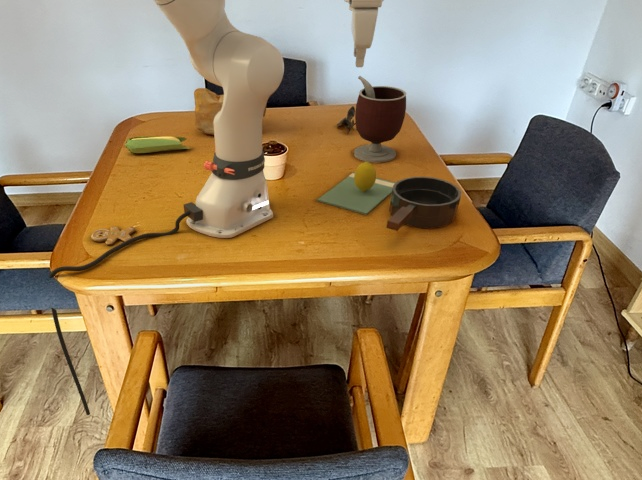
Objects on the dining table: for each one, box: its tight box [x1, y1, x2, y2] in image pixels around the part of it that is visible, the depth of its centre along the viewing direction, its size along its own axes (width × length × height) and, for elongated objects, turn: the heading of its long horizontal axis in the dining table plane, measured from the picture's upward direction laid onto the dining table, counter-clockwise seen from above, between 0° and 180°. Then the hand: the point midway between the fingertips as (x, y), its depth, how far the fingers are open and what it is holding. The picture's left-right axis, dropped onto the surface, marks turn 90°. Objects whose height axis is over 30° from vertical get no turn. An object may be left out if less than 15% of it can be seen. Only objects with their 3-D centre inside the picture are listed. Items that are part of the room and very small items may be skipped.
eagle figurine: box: [336, 106, 356, 135], centre depth 172 cm, size 8×7×9 cm
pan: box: [388, 176, 462, 229], centre depth 128 cm, size 16×16×6 cm
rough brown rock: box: [193, 87, 268, 136], centre depth 173 cm, size 23×17×15 cm
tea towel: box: [316, 172, 396, 216], centre depth 139 cm, size 20×14×1 cm
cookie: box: [91, 225, 136, 246], centre depth 125 cm, size 8×1×10 cm
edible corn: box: [124, 135, 191, 155], centre depth 162 cm, size 5×20×5 cm, turn 98°
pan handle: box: [385, 204, 416, 232], centre depth 119 cm, size 12×3×2 cm, turn 145°
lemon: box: [354, 161, 377, 192], centre depth 136 cm, size 6×6×8 cm
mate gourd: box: [353, 75, 407, 164], centre depth 152 cm, size 16×14×20 cm
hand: (358, 61), depth 126 cm, fingers open, 8 cm apart
